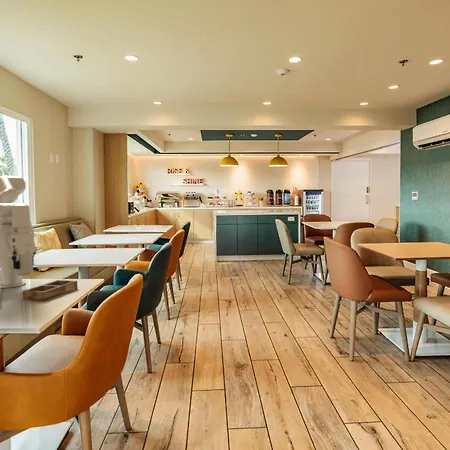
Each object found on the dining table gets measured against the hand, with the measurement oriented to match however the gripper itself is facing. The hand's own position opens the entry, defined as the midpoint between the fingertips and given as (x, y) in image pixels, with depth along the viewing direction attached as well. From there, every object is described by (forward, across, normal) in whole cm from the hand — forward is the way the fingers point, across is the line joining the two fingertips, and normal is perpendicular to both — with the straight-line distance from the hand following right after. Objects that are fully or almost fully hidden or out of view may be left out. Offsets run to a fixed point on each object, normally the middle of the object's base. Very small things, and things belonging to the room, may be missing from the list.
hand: (23, 266), depth 172 cm
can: (+4, 0, 0) cm, 4 cm away
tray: (+13, +1, -14) cm, 19 cm away
